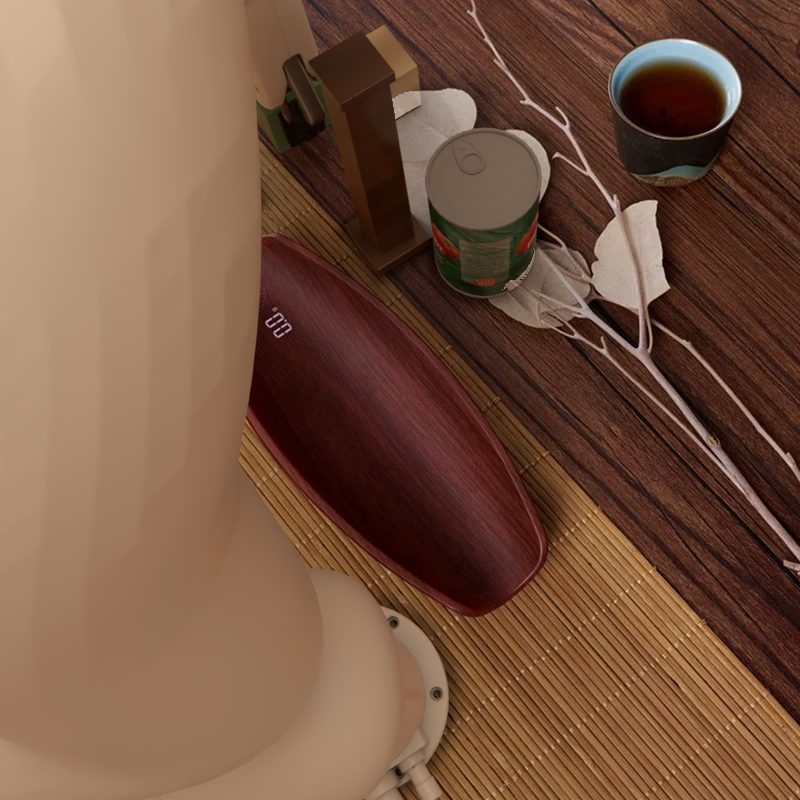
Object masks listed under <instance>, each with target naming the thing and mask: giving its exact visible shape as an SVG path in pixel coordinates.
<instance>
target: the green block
mask: <svg viewBox="0 0 800 800" xmlns="http://www.w3.org/2000/svg"><path fill="white" fill-rule="evenodd" d="M310 79H311V78H310ZM311 81H312V84H313V86H314V89H315V91H316V94H317V96H318V98H319V100H320V102H321V104H322V106H323V108H324V110H325V112H326V114H327V117H326V118H325V119H324V121H325V124H326V127H328V126H329V125H332V124H331V120H330V116H329V113H328V109H327V105H326V102H325V98H324V94H323V91H322V87H321V84H320V83H319V82H316V81H314V82H313V80H312V79H311ZM285 97H286V100H287V102H290V101H292V100H293V99H295V98H296V97H295V95H294V93H293V91H292V90H291V91H290V92H288V93H286V94H285ZM256 109H257V124H258V125H259V126H260V128H261V129H262V130H263V132H264V133H265V134H266V136H267V138H268V139H269V140H270V142H271V143H272V145H273V146H274V147H275V149H276V150H277V152H278V153H279V154H283V153H284V152H286V151H288V150H289V149H291V148H292V147H291V146H290V145H289V143H288V141H287V139H286V136H285V133H284V131H283V128H282V125H281V122H280V120H279V117H278V114H279V113H280V112H281V110H280V108H279V106H278V107H276V108H275V109H273V110H271V109H267V108H265V107H263V106H262V105H261V104H260V103H259V102H258V101H257V99H256Z"/></svg>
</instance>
